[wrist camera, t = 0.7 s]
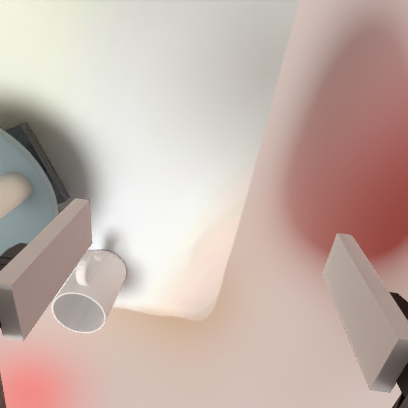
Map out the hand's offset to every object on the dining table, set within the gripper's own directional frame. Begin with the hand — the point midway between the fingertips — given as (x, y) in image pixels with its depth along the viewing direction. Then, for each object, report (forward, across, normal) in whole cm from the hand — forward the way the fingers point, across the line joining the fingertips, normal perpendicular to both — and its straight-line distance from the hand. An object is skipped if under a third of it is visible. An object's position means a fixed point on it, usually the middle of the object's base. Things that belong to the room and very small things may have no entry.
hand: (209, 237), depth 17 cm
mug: (+28, -16, -25) cm, 41 cm away
